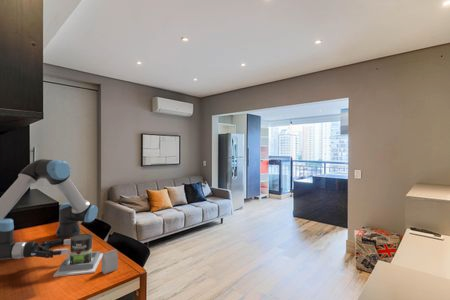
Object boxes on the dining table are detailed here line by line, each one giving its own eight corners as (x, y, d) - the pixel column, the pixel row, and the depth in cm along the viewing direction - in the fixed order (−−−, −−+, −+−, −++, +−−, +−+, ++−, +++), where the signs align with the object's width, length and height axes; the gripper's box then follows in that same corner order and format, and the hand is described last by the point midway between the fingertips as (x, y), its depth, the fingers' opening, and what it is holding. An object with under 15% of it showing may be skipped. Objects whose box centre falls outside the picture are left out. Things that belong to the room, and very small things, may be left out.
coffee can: (88, 266, 125) (89, 239, 126) (66, 268, 123) (67, 241, 123) (93, 257, 135) (94, 233, 135) (73, 259, 133) (74, 234, 133)
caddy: (69, 257, 137) (69, 251, 137) (103, 254, 142) (103, 248, 142) (53, 276, 116) (53, 270, 116) (94, 272, 121) (94, 266, 121)
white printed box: (117, 269, 125) (118, 250, 125) (104, 274, 120) (104, 254, 120) (114, 267, 128) (115, 248, 128) (101, 271, 122) (102, 252, 123)
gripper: (37, 247, 133) (79, 244, 140) (11, 268, 110) (64, 263, 116) (37, 234, 134) (80, 231, 140) (12, 252, 110) (65, 248, 116)
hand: (73, 246), depth 128 cm, fingers open, 13 cm apart
